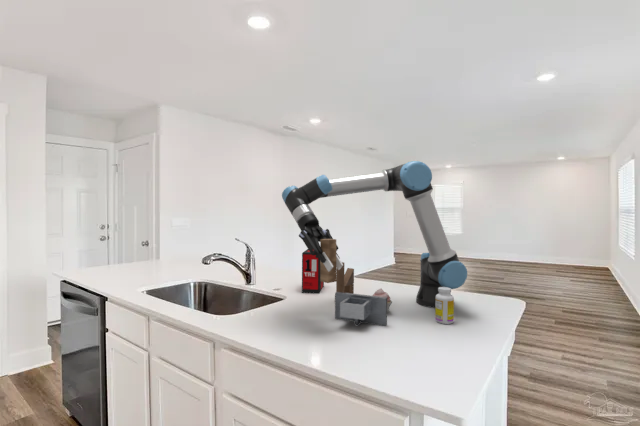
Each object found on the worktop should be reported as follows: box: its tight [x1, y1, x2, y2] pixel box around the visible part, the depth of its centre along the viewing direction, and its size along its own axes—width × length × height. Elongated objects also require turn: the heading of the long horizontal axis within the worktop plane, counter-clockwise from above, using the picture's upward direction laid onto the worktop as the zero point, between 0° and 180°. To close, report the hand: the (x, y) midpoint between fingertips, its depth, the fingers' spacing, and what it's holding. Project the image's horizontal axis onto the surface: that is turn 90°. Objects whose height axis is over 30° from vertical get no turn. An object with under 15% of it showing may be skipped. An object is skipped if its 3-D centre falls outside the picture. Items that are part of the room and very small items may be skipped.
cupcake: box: [371, 287, 393, 315], centre depth 149 cm, size 9×9×10 cm
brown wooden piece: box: [335, 261, 355, 294], centre depth 168 cm, size 4×11×18 cm, turn 143°
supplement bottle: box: [434, 287, 455, 325], centre depth 138 cm, size 7×7×13 cm
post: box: [319, 238, 337, 284], centre depth 129 cm, size 4×4×15 cm
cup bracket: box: [334, 291, 388, 327], centre depth 134 cm, size 20×11×10 cm, turn 66°
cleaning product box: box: [301, 248, 325, 295], centre depth 188 cm, size 16×9×20 cm, turn 172°
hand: (335, 268), depth 126 cm, fingers closed on post, 4 cm apart
